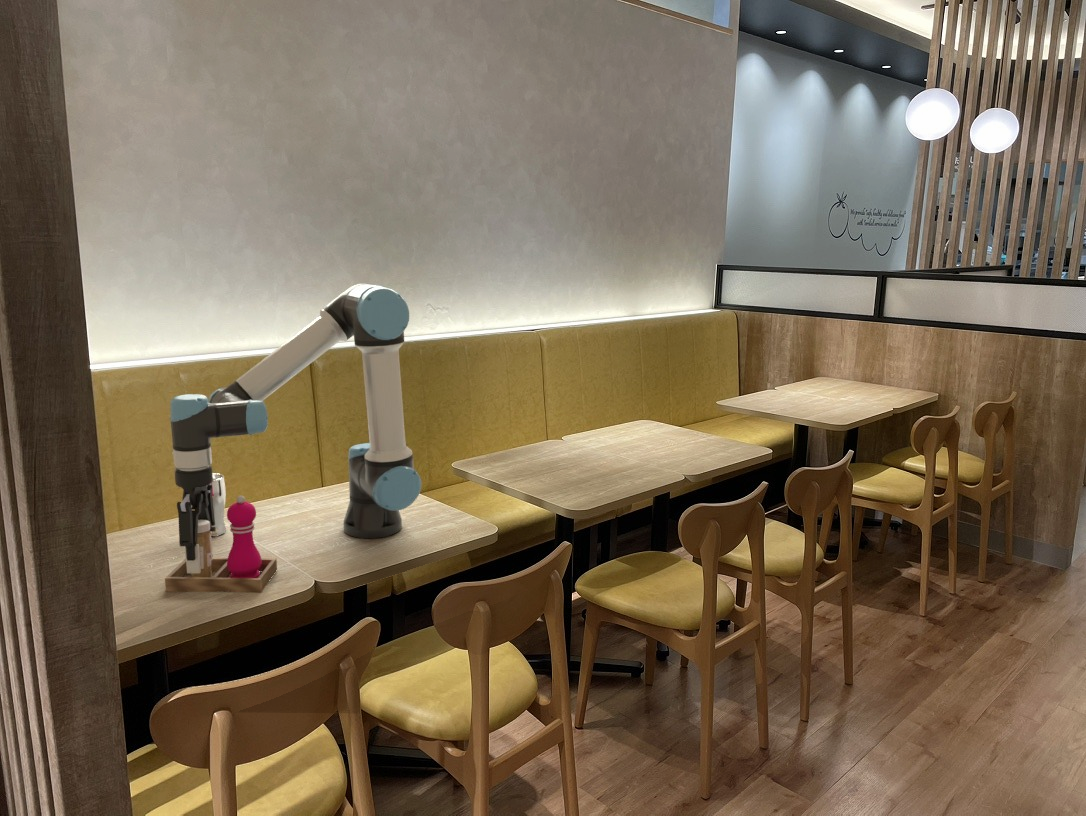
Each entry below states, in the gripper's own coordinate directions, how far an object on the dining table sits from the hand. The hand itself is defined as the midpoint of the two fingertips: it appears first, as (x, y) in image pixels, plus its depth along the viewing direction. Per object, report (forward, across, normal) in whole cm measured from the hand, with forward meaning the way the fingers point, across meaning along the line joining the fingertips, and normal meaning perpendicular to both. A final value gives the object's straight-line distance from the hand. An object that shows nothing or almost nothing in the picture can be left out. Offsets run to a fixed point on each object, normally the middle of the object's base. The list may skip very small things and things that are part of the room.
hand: (200, 566), depth 180 cm
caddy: (+3, 0, +5) cm, 6 cm away
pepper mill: (+4, 0, +10) cm, 10 cm away
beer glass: (+4, -29, -8) cm, 30 cm away
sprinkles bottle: (+4, 0, 0) cm, 4 cm away
